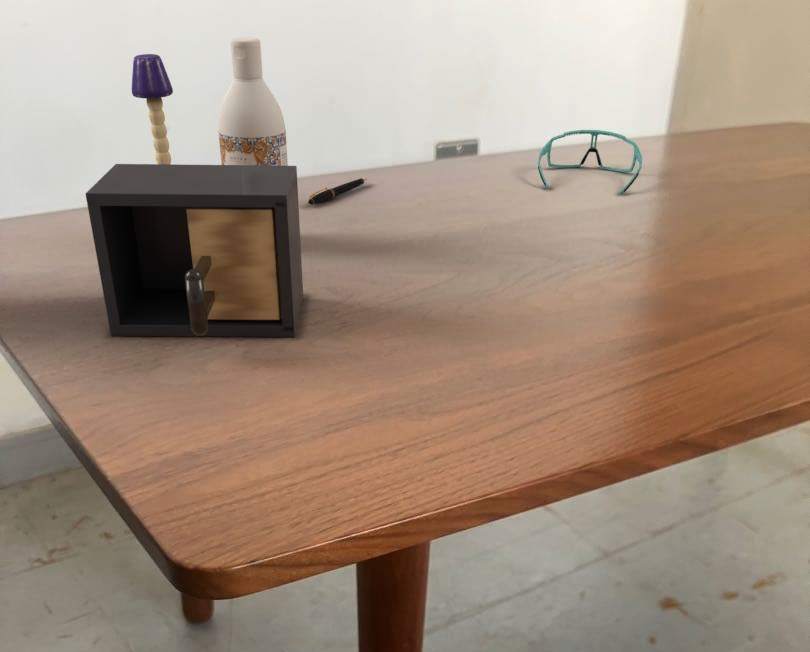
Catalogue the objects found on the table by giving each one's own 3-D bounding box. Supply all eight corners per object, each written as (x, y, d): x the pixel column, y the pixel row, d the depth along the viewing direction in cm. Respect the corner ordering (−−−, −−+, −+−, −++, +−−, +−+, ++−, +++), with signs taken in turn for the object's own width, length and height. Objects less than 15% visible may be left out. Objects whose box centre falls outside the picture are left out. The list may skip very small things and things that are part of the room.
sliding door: (185, 349, 74) (170, 232, 69) (200, 316, 80) (187, 206, 75) (272, 350, 75) (263, 233, 69) (280, 316, 81) (273, 207, 75)
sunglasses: (640, 168, 132) (645, 132, 129) (636, 206, 121) (641, 168, 118) (542, 162, 135) (546, 126, 132) (530, 198, 124) (533, 160, 121)
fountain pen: (364, 182, 124) (364, 171, 123) (371, 184, 124) (371, 172, 123) (304, 207, 114) (303, 195, 113) (312, 209, 113) (311, 196, 113)
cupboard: (110, 336, 80) (84, 193, 73) (136, 295, 88) (115, 163, 81) (294, 337, 80) (286, 195, 73) (303, 296, 88) (296, 165, 82)
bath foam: (217, 247, 100) (195, 40, 89) (248, 229, 106) (231, 33, 94) (273, 255, 99) (259, 45, 87) (302, 237, 104) (292, 36, 92)
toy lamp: (173, 213, 111) (153, 59, 101) (140, 209, 112) (118, 56, 103) (194, 203, 115) (177, 53, 105) (162, 199, 116) (142, 51, 106)
